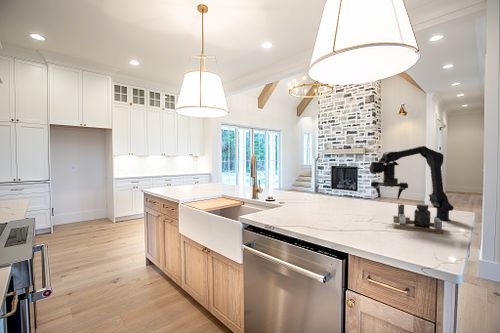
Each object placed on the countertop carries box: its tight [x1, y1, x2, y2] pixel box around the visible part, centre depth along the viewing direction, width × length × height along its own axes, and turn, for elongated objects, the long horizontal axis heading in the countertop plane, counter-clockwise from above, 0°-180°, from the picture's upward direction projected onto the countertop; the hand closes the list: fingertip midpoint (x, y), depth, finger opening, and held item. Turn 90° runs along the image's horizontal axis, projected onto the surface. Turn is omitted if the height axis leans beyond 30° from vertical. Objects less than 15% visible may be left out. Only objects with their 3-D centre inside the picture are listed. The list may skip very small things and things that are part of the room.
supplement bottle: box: [413, 203, 432, 228], centre depth 123 cm, size 7×7×12 cm
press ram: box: [397, 204, 407, 226], centre depth 133 cm, size 18×3×8 cm, turn 150°
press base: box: [392, 215, 444, 235], centre depth 128 cm, size 22×20×5 cm
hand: (388, 199), depth 141 cm, fingers open, 9 cm apart
